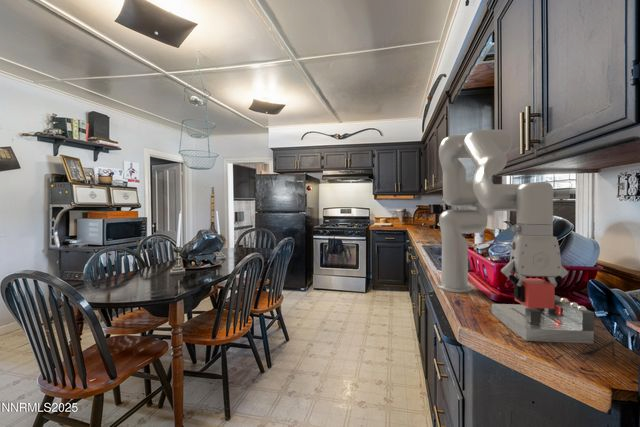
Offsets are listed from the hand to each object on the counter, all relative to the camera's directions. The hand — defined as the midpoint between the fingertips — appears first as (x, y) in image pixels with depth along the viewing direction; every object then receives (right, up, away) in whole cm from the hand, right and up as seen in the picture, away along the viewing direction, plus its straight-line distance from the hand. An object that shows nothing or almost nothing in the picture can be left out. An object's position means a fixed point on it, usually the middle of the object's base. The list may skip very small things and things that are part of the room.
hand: (533, 300), depth 75 cm
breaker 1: (0, -6, 0) cm, 6 cm away
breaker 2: (+7, -5, +8) cm, 12 cm away
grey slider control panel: (+4, -9, +5) cm, 11 cm away
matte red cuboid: (0, -1, 0) cm, 1 cm away
